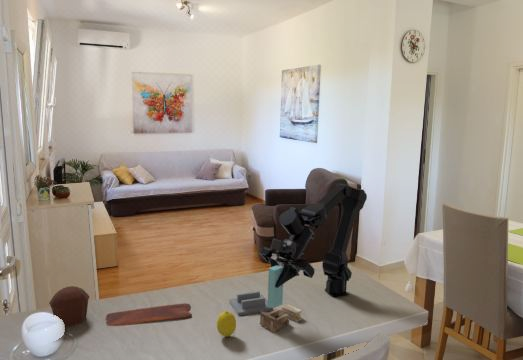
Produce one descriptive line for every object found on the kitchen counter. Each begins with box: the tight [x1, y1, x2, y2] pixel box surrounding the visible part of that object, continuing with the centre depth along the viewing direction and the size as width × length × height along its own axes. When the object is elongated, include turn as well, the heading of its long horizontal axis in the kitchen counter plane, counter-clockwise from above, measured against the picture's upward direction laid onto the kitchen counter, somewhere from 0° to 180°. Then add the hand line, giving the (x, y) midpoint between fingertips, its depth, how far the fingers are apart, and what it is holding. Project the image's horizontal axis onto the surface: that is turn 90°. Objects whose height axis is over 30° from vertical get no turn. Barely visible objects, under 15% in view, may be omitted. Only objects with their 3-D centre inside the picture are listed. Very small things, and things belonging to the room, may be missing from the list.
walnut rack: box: [259, 308, 290, 333], centre depth 129 cm, size 7×6×4 cm
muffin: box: [48, 285, 90, 328], centre depth 130 cm, size 12×11×10 cm
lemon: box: [216, 310, 237, 338], centre depth 122 cm, size 6×6×8 cm
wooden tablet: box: [105, 302, 193, 327], centre depth 134 cm, size 27×10×2 cm, turn 105°
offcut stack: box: [278, 303, 304, 323], centre depth 135 cm, size 3×8×3 cm, turn 48°
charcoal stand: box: [229, 290, 274, 316], centre depth 141 cm, size 12×10×4 cm
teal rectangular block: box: [267, 265, 284, 309], centre depth 128 cm, size 4×2×12 cm, turn 135°
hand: (272, 285), depth 126 cm, fingers closed on teal rectangular block, 2 cm apart
